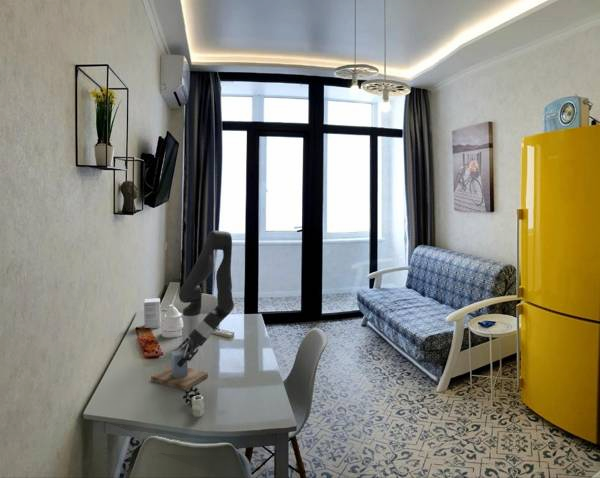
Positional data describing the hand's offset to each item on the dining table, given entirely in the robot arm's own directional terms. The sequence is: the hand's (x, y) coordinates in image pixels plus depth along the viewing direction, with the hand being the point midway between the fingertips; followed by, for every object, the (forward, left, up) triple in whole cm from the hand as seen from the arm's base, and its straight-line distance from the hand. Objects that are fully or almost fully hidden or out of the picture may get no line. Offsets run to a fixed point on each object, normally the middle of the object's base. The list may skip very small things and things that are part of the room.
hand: (176, 362), depth 173 cm
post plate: (+1, +1, -8) cm, 8 cm away
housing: (+1, +1, -6) cm, 6 cm away
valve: (+25, -16, -8) cm, 30 cm away
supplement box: (-67, +49, -8) cm, 84 cm away
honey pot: (-45, +44, -8) cm, 64 cm away
